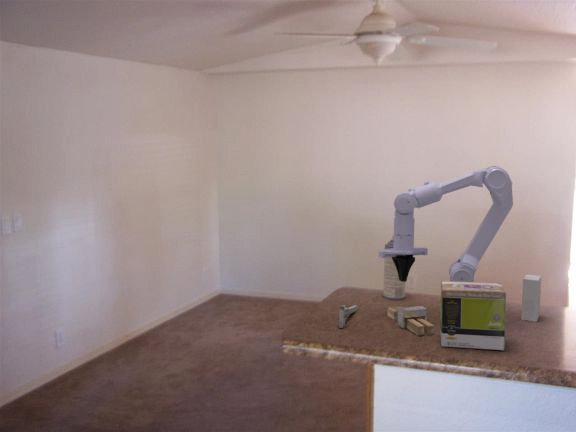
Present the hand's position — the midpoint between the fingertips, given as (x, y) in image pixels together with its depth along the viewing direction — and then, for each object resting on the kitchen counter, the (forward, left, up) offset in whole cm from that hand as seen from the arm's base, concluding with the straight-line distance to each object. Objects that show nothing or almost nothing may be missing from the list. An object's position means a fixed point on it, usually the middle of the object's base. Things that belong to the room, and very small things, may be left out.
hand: (402, 280), depth 174 cm
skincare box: (-33, +14, -10) cm, 37 cm away
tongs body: (+3, +9, -10) cm, 14 cm away
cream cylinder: (-6, -17, -10) cm, 21 cm away
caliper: (+16, -1, -10) cm, 19 cm away
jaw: (+4, +12, -10) cm, 16 cm away
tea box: (-5, +26, -10) cm, 29 cm away
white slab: (+3, +11, -10) cm, 15 cm away
